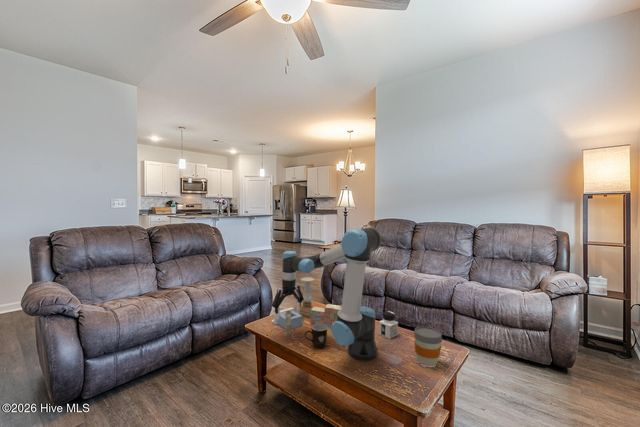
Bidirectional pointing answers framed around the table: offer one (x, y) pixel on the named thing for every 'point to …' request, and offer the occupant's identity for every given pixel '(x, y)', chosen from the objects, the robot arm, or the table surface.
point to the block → (295, 320)
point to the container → (388, 325)
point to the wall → (280, 313)
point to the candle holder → (307, 297)
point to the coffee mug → (318, 335)
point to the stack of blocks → (325, 315)
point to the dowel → (288, 324)
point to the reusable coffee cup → (427, 345)
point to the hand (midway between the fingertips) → (287, 315)
